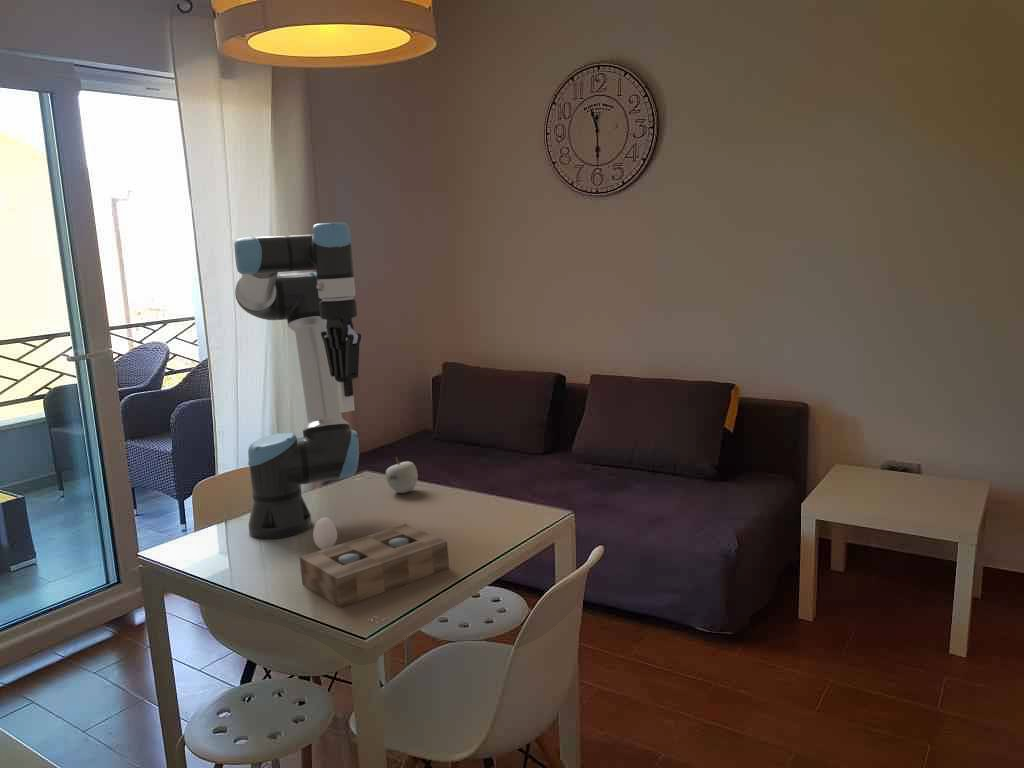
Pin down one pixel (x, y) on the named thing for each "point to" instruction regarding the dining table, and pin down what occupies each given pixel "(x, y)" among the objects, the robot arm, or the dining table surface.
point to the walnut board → (373, 565)
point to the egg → (325, 533)
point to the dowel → (348, 558)
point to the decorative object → (402, 476)
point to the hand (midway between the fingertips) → (347, 410)
